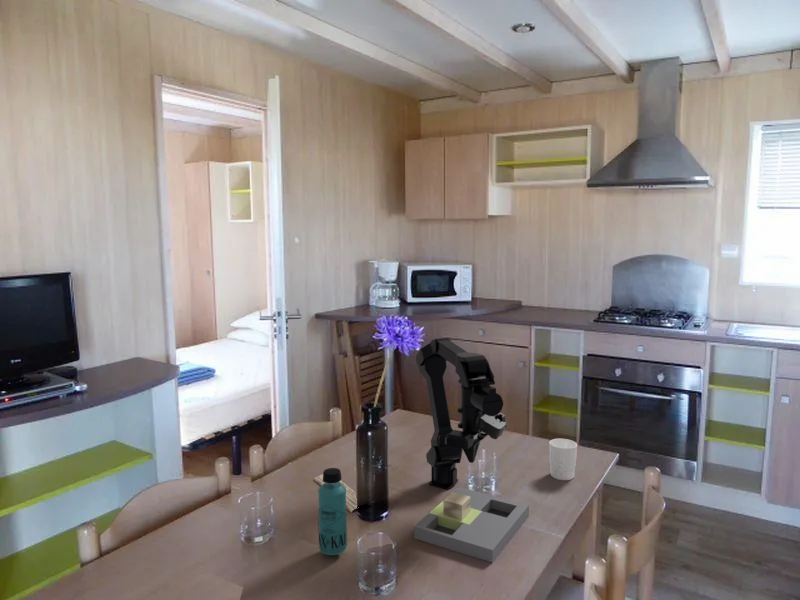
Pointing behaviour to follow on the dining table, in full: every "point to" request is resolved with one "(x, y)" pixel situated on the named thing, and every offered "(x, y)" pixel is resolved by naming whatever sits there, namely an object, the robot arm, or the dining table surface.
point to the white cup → (562, 458)
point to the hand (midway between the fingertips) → (471, 462)
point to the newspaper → (350, 494)
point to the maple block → (457, 506)
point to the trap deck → (474, 526)
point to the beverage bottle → (332, 513)
